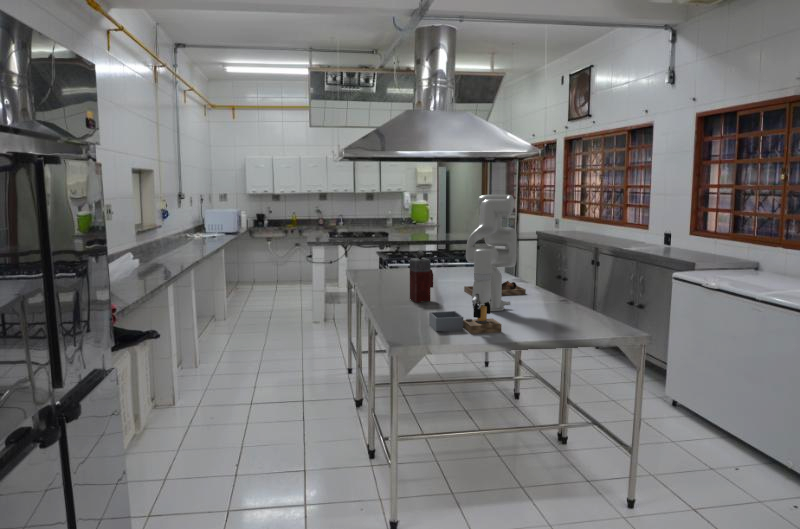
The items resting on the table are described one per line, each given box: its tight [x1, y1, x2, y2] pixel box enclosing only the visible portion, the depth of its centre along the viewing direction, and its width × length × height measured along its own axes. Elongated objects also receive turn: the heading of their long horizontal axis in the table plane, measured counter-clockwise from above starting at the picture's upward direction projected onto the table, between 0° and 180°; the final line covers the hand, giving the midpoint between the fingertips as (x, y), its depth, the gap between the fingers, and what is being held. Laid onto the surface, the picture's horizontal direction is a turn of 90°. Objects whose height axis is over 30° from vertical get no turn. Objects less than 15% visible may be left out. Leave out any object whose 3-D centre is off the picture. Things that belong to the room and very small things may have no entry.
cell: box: [476, 304, 488, 324], centre depth 250 cm, size 4×4×10 cm
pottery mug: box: [502, 280, 517, 290], centre depth 337 cm, size 12×10×8 cm
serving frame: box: [463, 284, 527, 297], centre depth 336 cm, size 32×17×3 cm, turn 101°
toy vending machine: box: [409, 250, 434, 303], centre depth 314 cm, size 9×11×28 cm
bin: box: [428, 310, 464, 332], centre depth 254 cm, size 12×12×6 cm
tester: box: [463, 318, 502, 335], centre depth 250 cm, size 14×11×4 cm
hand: (481, 315), depth 249 cm, fingers open, 9 cm apart
